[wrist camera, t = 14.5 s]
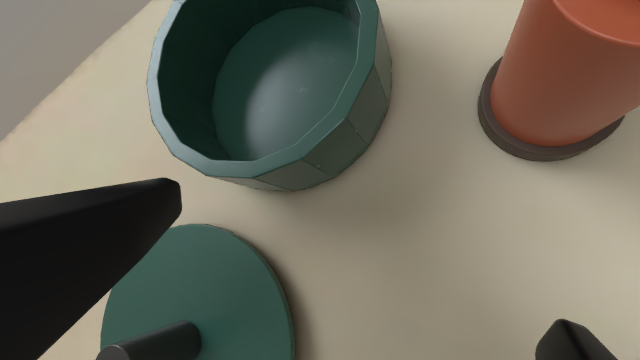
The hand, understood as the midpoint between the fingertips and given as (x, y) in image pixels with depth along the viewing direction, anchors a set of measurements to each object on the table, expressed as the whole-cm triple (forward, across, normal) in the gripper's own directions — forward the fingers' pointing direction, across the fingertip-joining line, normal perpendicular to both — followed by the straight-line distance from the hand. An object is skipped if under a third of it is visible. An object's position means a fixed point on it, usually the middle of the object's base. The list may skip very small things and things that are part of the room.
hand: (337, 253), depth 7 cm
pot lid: (+4, +8, +13) cm, 16 cm away
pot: (+13, +7, 0) cm, 15 cm away
